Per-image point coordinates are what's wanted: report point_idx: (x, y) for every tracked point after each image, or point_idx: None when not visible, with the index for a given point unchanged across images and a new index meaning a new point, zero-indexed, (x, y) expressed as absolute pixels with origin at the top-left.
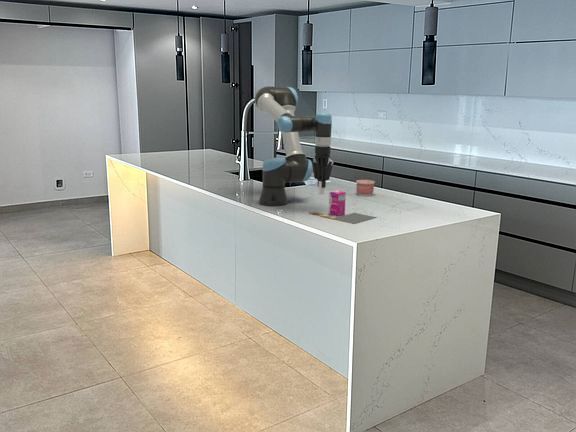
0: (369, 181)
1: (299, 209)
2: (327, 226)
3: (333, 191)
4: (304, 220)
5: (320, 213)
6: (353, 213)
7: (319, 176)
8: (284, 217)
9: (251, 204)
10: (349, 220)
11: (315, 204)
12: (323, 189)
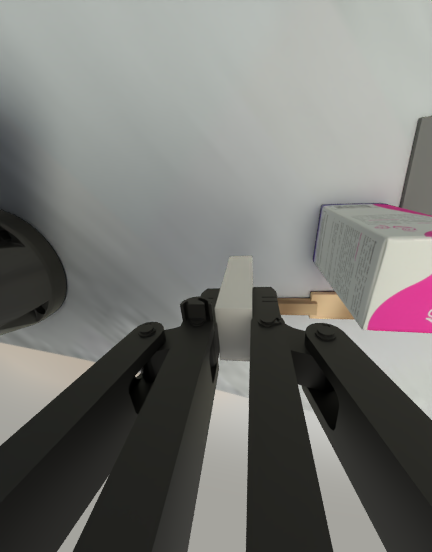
0: None
1: (155, 274)
2: (416, 393)
3: (385, 296)
4: None
5: (304, 311)
6: (425, 140)
7: (212, 398)
8: (221, 388)
9: (15, 334)
10: None
11: (102, 126)
12: (252, 280)
